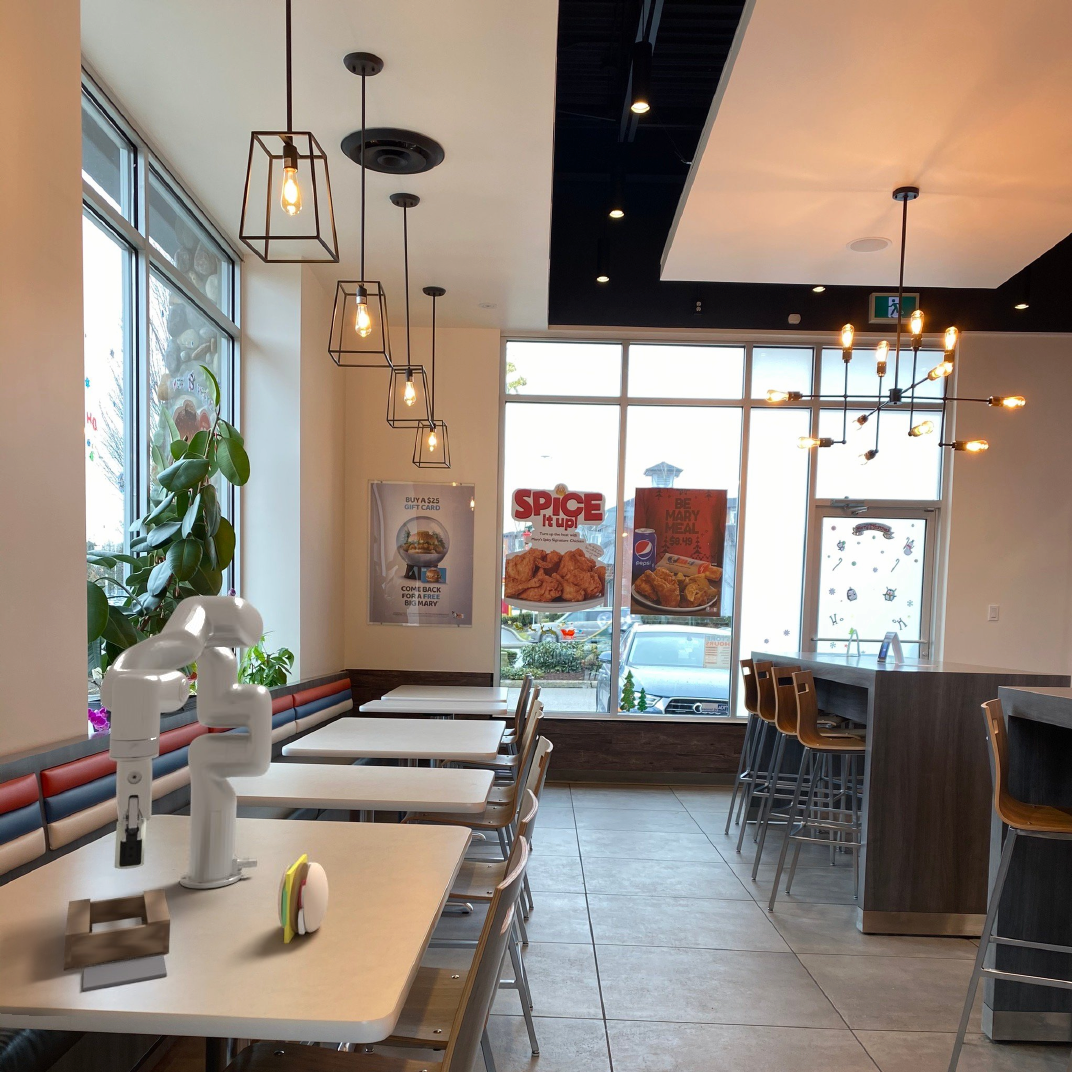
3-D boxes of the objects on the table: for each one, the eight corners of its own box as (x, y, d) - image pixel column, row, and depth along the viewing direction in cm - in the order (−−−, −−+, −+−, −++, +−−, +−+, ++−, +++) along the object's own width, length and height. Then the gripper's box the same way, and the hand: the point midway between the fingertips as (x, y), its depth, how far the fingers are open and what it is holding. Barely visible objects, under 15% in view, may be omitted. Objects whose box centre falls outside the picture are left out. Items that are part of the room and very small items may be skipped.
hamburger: (318, 942, 151) (319, 873, 152) (271, 943, 151) (273, 874, 152) (332, 918, 163) (334, 854, 164) (289, 918, 163) (291, 854, 164)
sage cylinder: (143, 859, 142) (145, 817, 143) (144, 866, 138) (146, 823, 139) (114, 862, 140) (116, 819, 141) (114, 870, 136) (116, 825, 137)
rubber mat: (163, 958, 144) (163, 954, 144) (166, 976, 137) (166, 973, 137) (83, 971, 139) (84, 968, 139) (82, 991, 132) (83, 988, 132)
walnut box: (162, 918, 162) (163, 888, 163) (169, 952, 146) (170, 919, 147) (67, 932, 155) (69, 901, 156) (63, 970, 139) (65, 935, 140)
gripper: (162, 754, 135) (157, 872, 134) (156, 740, 150) (151, 845, 149) (109, 758, 132) (104, 879, 130) (109, 743, 147) (104, 851, 145)
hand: (129, 859), depth 139 cm, fingers closed on sage cylinder, 4 cm apart
